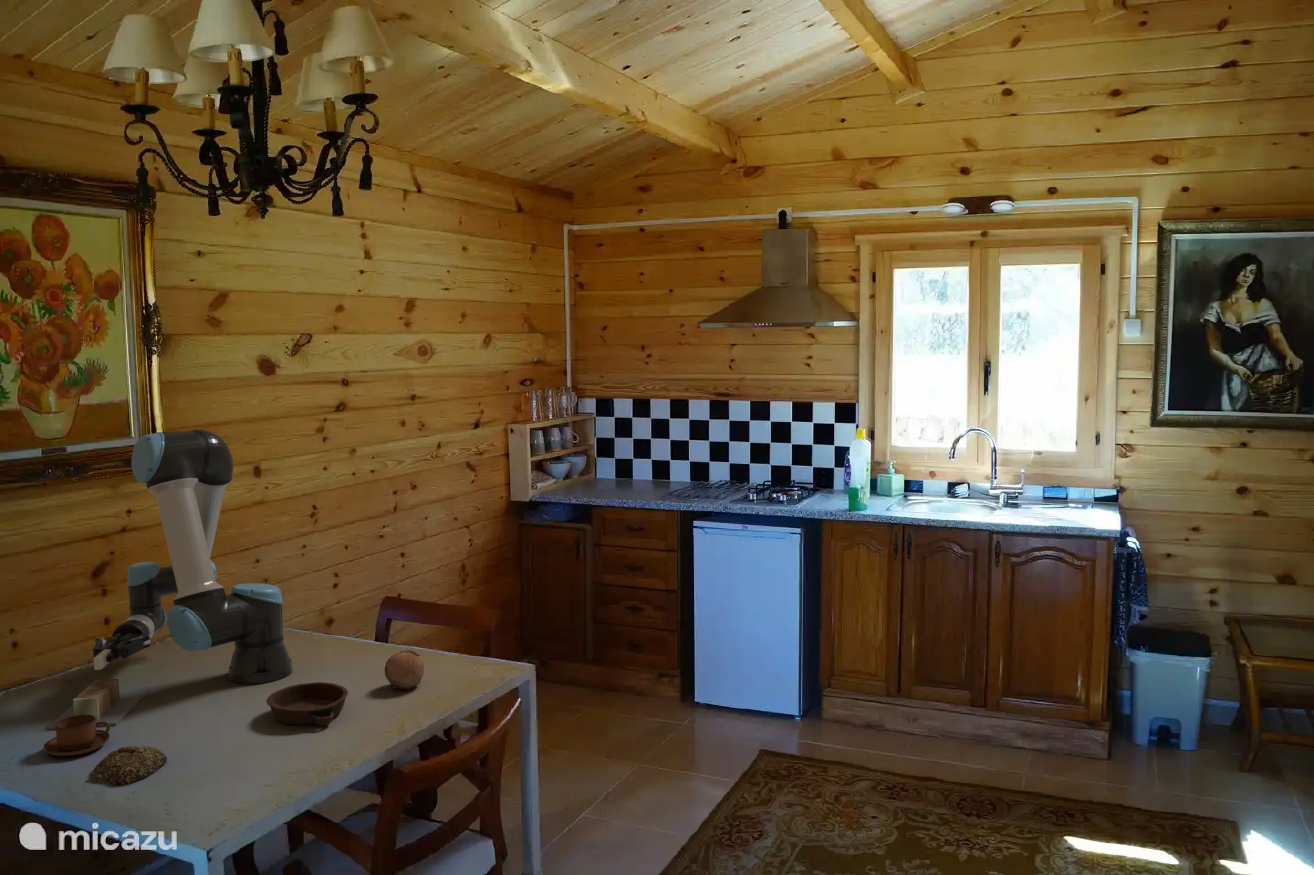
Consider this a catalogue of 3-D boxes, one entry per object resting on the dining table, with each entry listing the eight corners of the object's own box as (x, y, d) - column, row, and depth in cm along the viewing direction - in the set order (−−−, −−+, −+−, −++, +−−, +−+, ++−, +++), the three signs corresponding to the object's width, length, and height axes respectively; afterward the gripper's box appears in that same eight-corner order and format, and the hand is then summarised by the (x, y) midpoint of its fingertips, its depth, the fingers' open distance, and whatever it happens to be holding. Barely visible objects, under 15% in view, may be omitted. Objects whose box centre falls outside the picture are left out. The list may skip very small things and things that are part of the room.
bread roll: (176, 762, 208) (175, 739, 207) (130, 789, 196) (128, 764, 195) (124, 756, 211) (123, 732, 211) (76, 781, 199) (74, 757, 199)
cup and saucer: (99, 733, 223) (98, 706, 222) (117, 749, 214) (116, 721, 214) (37, 749, 214) (35, 721, 214) (53, 766, 206) (51, 737, 205)
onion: (411, 693, 254) (421, 653, 257) (424, 694, 246) (434, 652, 250) (375, 685, 250) (385, 645, 253) (386, 686, 242) (397, 644, 245)
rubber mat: (152, 688, 250) (151, 685, 250) (116, 725, 227) (116, 722, 227) (90, 691, 248) (90, 689, 248) (48, 729, 225) (48, 726, 225)
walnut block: (118, 678, 241) (97, 698, 228) (119, 699, 241) (98, 719, 228) (95, 679, 240) (73, 699, 227) (97, 700, 240) (74, 721, 228)
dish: (285, 740, 219) (284, 718, 218) (254, 710, 236) (253, 689, 235) (364, 721, 229) (363, 699, 229) (328, 693, 246) (327, 673, 246)
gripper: (161, 646, 259) (128, 678, 236) (106, 649, 257) (68, 681, 234) (159, 618, 259) (126, 646, 235) (104, 620, 257) (65, 649, 233)
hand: (97, 663), depth 235 cm, fingers closed
